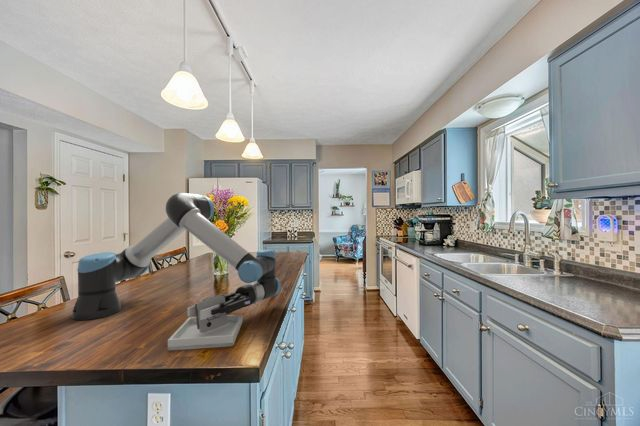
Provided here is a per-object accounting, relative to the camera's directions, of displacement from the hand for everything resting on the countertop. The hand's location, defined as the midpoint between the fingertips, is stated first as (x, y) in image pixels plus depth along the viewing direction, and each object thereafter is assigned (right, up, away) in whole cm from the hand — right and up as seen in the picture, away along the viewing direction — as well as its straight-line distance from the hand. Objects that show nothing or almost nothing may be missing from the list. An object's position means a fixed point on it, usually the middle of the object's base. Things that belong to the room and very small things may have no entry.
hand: (194, 313), depth 84 cm
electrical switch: (+3, -6, +4) cm, 8 cm away
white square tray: (+3, -8, +4) cm, 10 cm away
